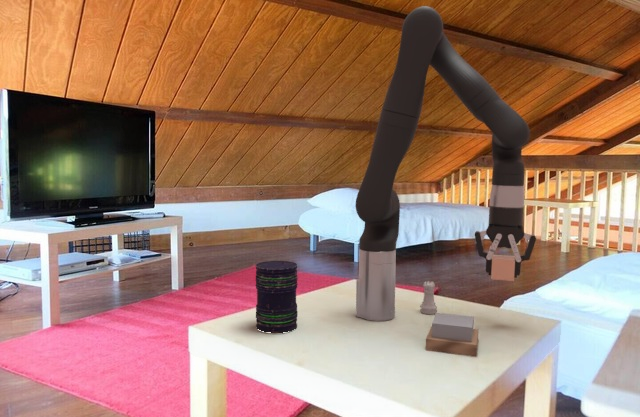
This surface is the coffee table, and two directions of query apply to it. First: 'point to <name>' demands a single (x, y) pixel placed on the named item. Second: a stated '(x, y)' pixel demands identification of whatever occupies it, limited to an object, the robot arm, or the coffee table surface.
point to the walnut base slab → (453, 345)
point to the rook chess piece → (428, 299)
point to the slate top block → (453, 327)
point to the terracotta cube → (503, 267)
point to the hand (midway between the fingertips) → (502, 275)
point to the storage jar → (276, 296)
